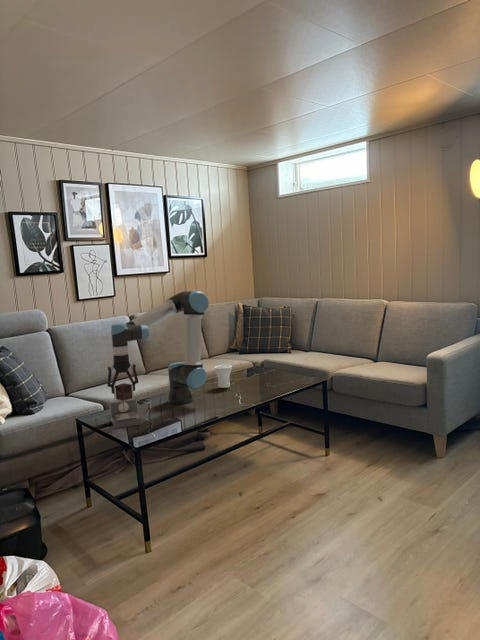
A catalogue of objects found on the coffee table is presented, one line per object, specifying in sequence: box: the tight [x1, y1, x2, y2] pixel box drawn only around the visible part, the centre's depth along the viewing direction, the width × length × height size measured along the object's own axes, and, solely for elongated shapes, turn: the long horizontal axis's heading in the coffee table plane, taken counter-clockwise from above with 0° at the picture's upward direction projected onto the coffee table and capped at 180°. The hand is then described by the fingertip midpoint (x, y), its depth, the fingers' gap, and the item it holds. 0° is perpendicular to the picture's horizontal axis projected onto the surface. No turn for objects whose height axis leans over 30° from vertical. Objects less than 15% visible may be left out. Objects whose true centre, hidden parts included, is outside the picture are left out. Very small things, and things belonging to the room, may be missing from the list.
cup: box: [214, 364, 233, 389], centre depth 305 cm, size 11×11×14 cm
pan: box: [115, 412, 137, 421], centre depth 242 cm, size 10×9×1 cm
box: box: [114, 382, 133, 401], centre depth 241 cm, size 6×6×7 cm
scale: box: [109, 398, 142, 429], centre depth 243 cm, size 13×14×10 cm
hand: (124, 398), depth 241 cm, fingers closed on box, 8 cm apart
